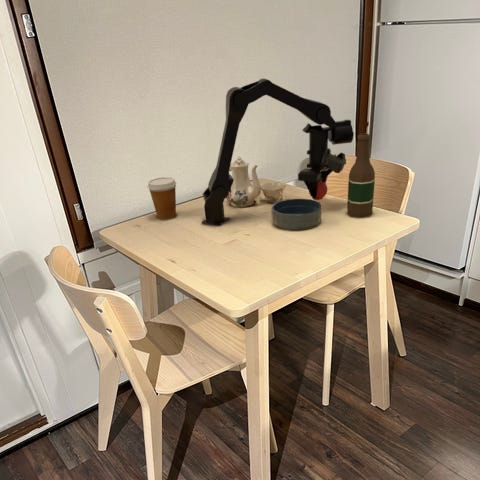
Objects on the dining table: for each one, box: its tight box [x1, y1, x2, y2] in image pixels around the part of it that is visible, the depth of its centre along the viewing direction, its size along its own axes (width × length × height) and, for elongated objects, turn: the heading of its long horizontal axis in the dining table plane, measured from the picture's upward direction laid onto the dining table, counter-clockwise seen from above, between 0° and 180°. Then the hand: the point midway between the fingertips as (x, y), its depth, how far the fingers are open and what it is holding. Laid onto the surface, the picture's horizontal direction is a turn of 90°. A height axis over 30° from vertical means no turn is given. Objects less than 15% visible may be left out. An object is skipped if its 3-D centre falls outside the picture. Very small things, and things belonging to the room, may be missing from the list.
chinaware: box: [226, 155, 286, 208], centre depth 170 cm, size 28×17×17 cm, turn 58°
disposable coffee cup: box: [147, 176, 177, 220], centre depth 163 cm, size 10×10×12 cm
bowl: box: [270, 198, 323, 231], centre depth 151 cm, size 15×15×5 cm
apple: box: [308, 181, 328, 201], centre depth 158 cm, size 6×6×7 cm
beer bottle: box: [346, 132, 376, 218], centre depth 148 cm, size 8×8×24 cm
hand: (317, 195), depth 160 cm, fingers closed on apple, 6 cm apart
